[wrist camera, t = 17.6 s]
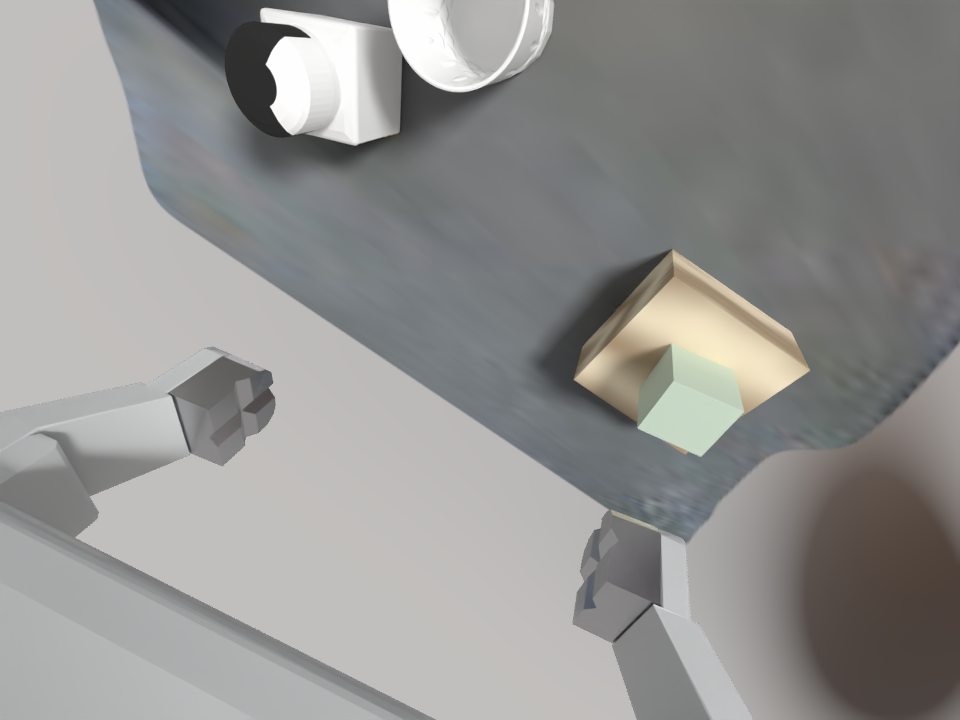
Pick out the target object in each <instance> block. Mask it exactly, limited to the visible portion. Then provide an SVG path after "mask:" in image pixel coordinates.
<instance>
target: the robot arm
mask: <svg viewBox="0 0 960 720" xmlns="http://www.w3.org/2000/svg"><path fill="white" fill-rule="evenodd" d="M272 384H273V380H272V374H271V372H269V371H267V370H265V369H263V368H261V367H259V366H256V365H254V364H252V363H249V362H247V361H245V360H243V359H240V358H238V357H236V356H233V355H231V354H229V353H226V352H224V351H222V350H219V349H217V348H215V347H210V348H204V349H203V350H201V351H199V352H198V353H196V354H194V355H193V356H191V357H190V358H188V359H186V360H185V361H183V362H182V363H180V364H179V365H177V366H175V367H174V368H172V369H171V370H169V371H167V372H166V373H164V374H163V375H161V376H159V377H158V378H156V379H155V380H153V381H152V382H150V383H148V384H143V383H135V384H131V385H126V386H121V387H116V388H112V389H108V390H102V391H98V392H93V393H88V394H84V395H79V396H74V397H70V398H66V399H60V400H56V401H51V402H46V403H42V404H37V405H32V406H27V407H23V408H19V409H14V410H9V411H4V412H0V720H435V719H434V718H431V717H430V716H427V715H426V714H423V713H421V712H420V711H418V710H415V709H414V708H412V707H410V706H408V705H406V704H404V703H402V702H400V701H398V700H396V699H394V698H392V697H390V696H388V695H386V694H384V693H382V692H380V691H378V690H376V689H374V688H372V687H370V686H368V685H366V684H364V683H362V682H360V681H358V680H356V679H354V678H352V677H350V676H348V675H346V674H344V673H342V672H340V671H338V670H336V669H334V668H332V667H330V666H328V665H326V664H324V663H322V662H320V661H318V660H316V659H314V658H312V657H310V656H308V655H306V654H304V653H303V652H300V651H299V650H297V649H295V648H292V647H291V646H289V645H287V644H285V643H282V642H280V641H279V640H277V639H274V638H273V637H271V636H269V635H266V634H265V633H262V632H261V631H259V630H256V629H255V628H253V627H251V626H249V625H247V624H245V623H243V622H241V621H239V620H237V619H235V618H233V617H231V616H229V615H227V614H225V613H223V612H221V611H219V610H217V609H215V608H213V607H211V606H209V605H207V604H205V603H203V602H201V601H199V600H197V599H195V598H193V597H191V596H189V595H187V594H185V593H183V592H181V591H179V590H177V589H175V588H173V587H171V586H169V585H168V584H166V583H164V582H162V581H160V580H157V579H156V578H153V577H152V576H150V575H148V574H146V573H144V572H142V571H140V570H138V569H136V568H134V567H132V566H130V565H128V564H126V563H124V562H122V561H120V560H118V559H116V558H114V557H112V556H110V555H108V554H106V553H104V552H102V551H100V550H98V549H96V548H94V547H92V546H90V545H88V544H86V543H84V542H82V541H80V540H78V539H76V538H75V537H76V536H77V535H78V534H80V533H81V532H82V531H83V530H84V529H85V528H87V527H88V526H89V525H90V524H92V523H93V522H94V521H95V520H96V519H97V518H98V513H99V512H98V510H97V509H96V507H95V505H94V503H93V502H92V500H91V498H90V496H92V495H94V494H97V493H99V492H101V491H104V490H106V489H109V488H111V487H114V486H116V485H118V484H121V483H123V482H126V481H128V480H130V479H133V478H135V477H138V476H140V475H143V474H145V473H148V472H150V471H152V470H155V469H157V468H160V467H162V466H164V465H167V464H169V463H172V462H174V461H177V460H179V459H182V458H184V457H186V456H189V455H190V453H192V454H194V455H197V456H199V457H201V458H204V459H206V460H208V461H211V462H213V463H216V464H218V465H221V466H223V465H224V464H225V463H227V462H228V461H229V460H230V459H231V458H232V457H233V456H234V455H235V454H236V453H237V452H238V451H240V450H241V449H242V448H243V447H244V445H245V439H246V437H247V436H251V435H254V434H257V433H259V432H260V431H261V430H262V429H263V428H264V427H265V426H266V425H267V424H268V422H269V420H270V419H271V417H272V415H273V414H274V409H275V397H274V396H273V394H272V393H271V391H270V389H269V387H270V386H271V385H272ZM580 573H581V575H582V577H583V579H584V583H583V585H582V586H581V587H580V589H579V590H578V592H577V596H576V603H575V610H574V617H573V624H574V625H576V626H578V627H580V628H582V629H584V630H587V631H589V632H591V633H593V634H595V635H597V636H599V637H601V638H603V639H605V640H607V641H609V642H611V643H613V645H612V647H613V650H614V653H615V656H616V659H617V662H618V665H619V668H620V671H621V674H622V677H623V680H624V682H625V685H626V688H627V692H628V695H629V698H630V701H631V704H632V707H633V710H634V712H635V715H636V718H637V720H753V718H752V717H751V715H750V713H749V711H748V710H747V708H746V706H745V705H744V703H743V701H742V699H741V697H740V696H739V694H738V692H737V691H736V689H735V687H734V685H733V683H732V682H731V680H730V678H729V676H728V674H727V673H726V671H725V669H724V667H723V666H722V664H721V662H720V660H719V659H718V657H717V655H716V653H715V652H714V650H713V648H712V646H711V645H710V643H709V641H708V639H707V637H706V636H705V634H704V632H703V630H702V629H701V627H700V625H699V624H698V623H696V622H694V621H692V620H691V616H690V602H689V587H688V572H687V557H686V544H685V542H684V540H683V538H680V537H678V536H675V535H673V534H670V533H668V532H665V531H663V530H661V529H657V528H656V527H654V526H652V525H649V524H647V523H644V522H641V521H639V520H636V519H634V518H631V517H629V516H626V515H624V514H621V513H619V512H616V511H613V510H611V509H610V510H609V511H607V512H606V514H605V515H604V516H603V518H602V523H601V528H600V529H597V530H594V532H593V533H592V535H591V536H590V538H589V540H588V543H587V545H586V548H585V550H584V555H583V559H582V563H581V570H580Z"/></svg>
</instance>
